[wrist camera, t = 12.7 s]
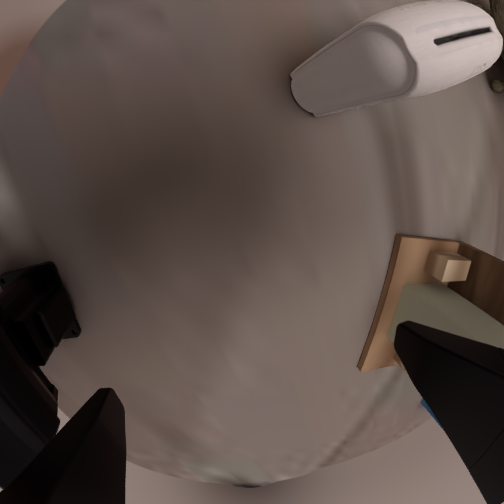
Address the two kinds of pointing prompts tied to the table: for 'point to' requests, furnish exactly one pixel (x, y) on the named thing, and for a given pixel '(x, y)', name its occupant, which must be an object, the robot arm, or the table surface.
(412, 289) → the cabinet block
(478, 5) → the green spouted canister
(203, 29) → the table surface
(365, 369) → the cleat board
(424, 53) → the photo printer
